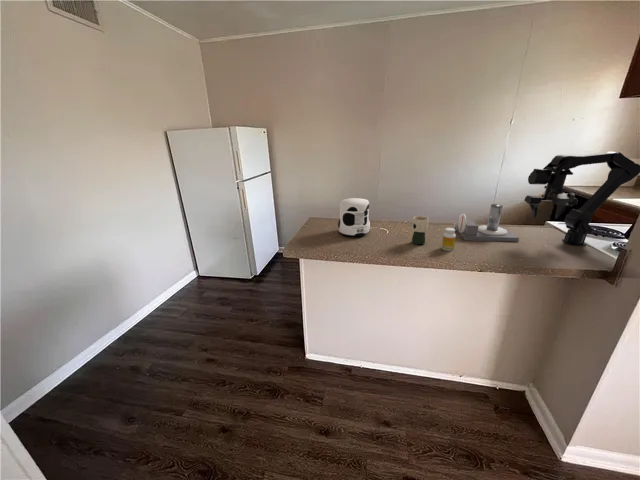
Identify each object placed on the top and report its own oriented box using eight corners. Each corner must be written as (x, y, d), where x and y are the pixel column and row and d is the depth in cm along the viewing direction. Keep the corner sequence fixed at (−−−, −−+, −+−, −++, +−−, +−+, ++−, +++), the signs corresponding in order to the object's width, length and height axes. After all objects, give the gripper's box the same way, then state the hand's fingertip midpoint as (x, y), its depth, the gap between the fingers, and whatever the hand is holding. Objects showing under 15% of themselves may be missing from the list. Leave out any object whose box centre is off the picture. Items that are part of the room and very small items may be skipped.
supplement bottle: (454, 251, 123) (458, 231, 120) (442, 250, 124) (445, 230, 121) (452, 246, 128) (455, 227, 125) (439, 246, 129) (442, 227, 126)
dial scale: (501, 229, 148) (505, 210, 144) (518, 241, 132) (523, 220, 128) (453, 228, 152) (456, 209, 148) (464, 240, 136) (468, 219, 132)
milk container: (348, 226, 161) (348, 196, 154) (375, 231, 151) (376, 199, 144) (332, 235, 148) (331, 202, 141) (360, 241, 138) (361, 206, 131)
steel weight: (498, 229, 140) (504, 205, 135) (495, 232, 137) (500, 207, 132) (488, 227, 144) (493, 203, 139) (484, 229, 141) (489, 205, 136)
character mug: (409, 238, 139) (411, 214, 134) (424, 239, 138) (427, 214, 133) (411, 247, 129) (414, 221, 124) (427, 247, 128) (431, 221, 123)
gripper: (542, 187, 115) (532, 222, 120) (592, 188, 112) (580, 224, 117) (528, 183, 125) (519, 215, 131) (574, 183, 122) (563, 217, 128)
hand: (545, 218), depth 126 cm, fingers open, 9 cm apart
